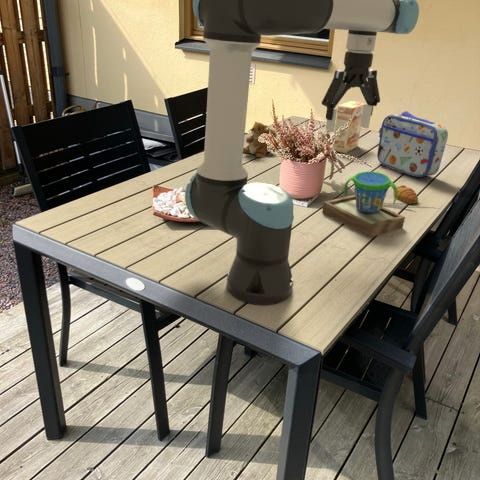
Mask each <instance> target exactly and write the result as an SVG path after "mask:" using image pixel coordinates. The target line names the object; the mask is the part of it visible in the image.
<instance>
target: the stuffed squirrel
mask: <svg viewBox="0 0 480 480" xmlns="http://www.w3.org/2000/svg"><path fill="white" fill-rule="evenodd" d="M269 129H270V128H269V126H268V125H267V124H264V123H262V122H258V121H254V124H253V126H252V128H250V130H248V133H249V135H250V134H252V135H250V136H248V137H246V139H245V142H246V143H247V144H248V145H247V147H244V148H243V154H252V155H253V154H255V155H254V156H256V158H258V157H260V158H263V157H266V154H267V152H269V151H268V150H267V144H266V143H261V142H259V141H258V137H259V136H260V135H261V134H263V133H267V134H269ZM270 131H271V133H272V134H273V135H274V137H275V138H276V137H277V136H278V135H276V130H273V129H272V128H271V129H270ZM277 138H278V137H277ZM277 138H276V139H277ZM262 156H263V157H262Z"/></svg>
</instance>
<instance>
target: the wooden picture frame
mask: <svg viewBox="0 0 480 480" xmlns="http://www.w3.org/2000/svg"><path fill="white" fill-rule="evenodd" d="M322 213H323V214H325V215H327V216H328V217H331V218H332V219H334V220H336V221H338V222H340V223H342V224H344V225H345V226H347V227H349V228H352V229H353V230H355V231H356V232H358V233H361V234H362V235H364V236H366V237H368V238H373V237H377V236H380V235H383V234H386V233H389V232H394V231H397V230H400V229H403V227H404V223H405V219H406V217H405V216H404V215H401V214H399V213H397V212H395V211H392V210H390V209H389V208H386V207H384V206H382V208H381V210H380V211H379V212H376V213H374V214H372V213H364V212H360V211H359V210H358V209H357V207H356V199H355V194H353V195H346V196H343V197H340V198H335V199H330V200H325V201H323V205H322Z"/></svg>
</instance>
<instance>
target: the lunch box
mask: <svg viewBox="0 0 480 480" xmlns="http://www.w3.org/2000/svg"><path fill="white" fill-rule="evenodd" d="M380 126H381V127H380V128H379V130H378V133H379V136H378V137H379V141H378V142H379V143H378V148H377V156H376V157H377V160H378V162H379V163H380V164H381V165H383V166H384V167H386V168H389V169H392V170H394V171H397V172H398V173H401V174H406V175H409V176H413V177H416V178H424V177H427V176H434V175H436V174H437V173H438V172H439V170H440V167H441V163H442V160H443V155H444V153H445V148H446V144H447V142H448V138H449V133H448V130H447V128H446V127H445V126H443V125H441V124H439V123H437V122H433V121H429V120H427V119H425V118H421V117H417V116H415V115H413V114H411V112H409V111H403V112H401V114H389V115H387V116H386V117H385V118H384V119H383V121H382V123H381V125H380Z"/></svg>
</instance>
